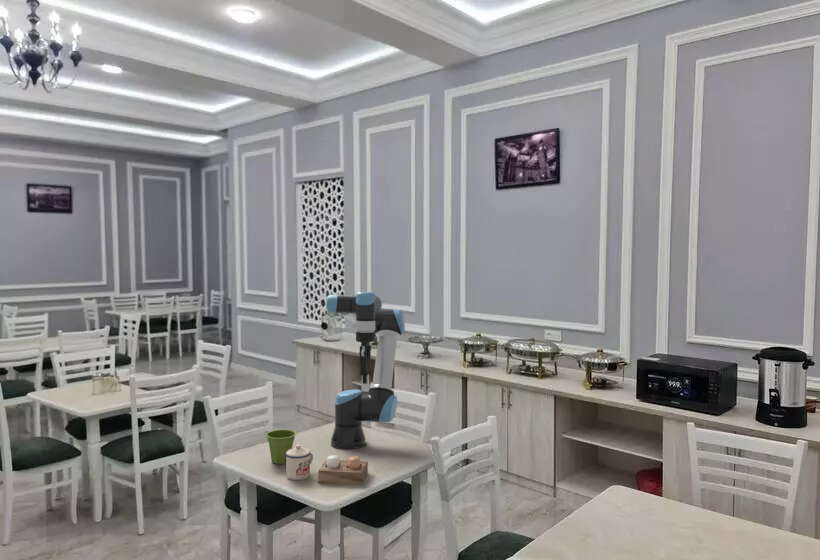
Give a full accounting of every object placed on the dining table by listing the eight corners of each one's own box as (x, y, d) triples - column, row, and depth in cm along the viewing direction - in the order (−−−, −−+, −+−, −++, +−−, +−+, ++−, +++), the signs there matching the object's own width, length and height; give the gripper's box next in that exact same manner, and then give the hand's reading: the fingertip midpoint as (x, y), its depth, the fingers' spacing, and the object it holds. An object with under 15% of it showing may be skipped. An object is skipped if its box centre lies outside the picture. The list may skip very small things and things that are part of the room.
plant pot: (285, 468, 222) (285, 439, 222) (259, 464, 227) (259, 435, 226) (302, 458, 233) (302, 431, 233) (277, 454, 238) (277, 427, 237)
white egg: (328, 470, 216) (328, 455, 216) (340, 471, 215) (340, 455, 215) (325, 475, 211) (325, 459, 211) (337, 475, 211) (337, 459, 211)
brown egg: (349, 471, 215) (349, 455, 215) (361, 472, 215) (361, 456, 214) (347, 476, 211) (347, 460, 210) (358, 476, 210) (358, 460, 210)
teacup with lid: (297, 482, 208) (297, 450, 208) (280, 476, 213) (280, 445, 213) (320, 472, 218) (321, 442, 218) (303, 467, 223) (303, 437, 223)
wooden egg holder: (326, 470, 220) (326, 459, 220) (367, 472, 218) (367, 461, 218) (318, 482, 208) (318, 470, 208) (361, 484, 206) (361, 472, 206)
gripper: (359, 329, 232) (359, 387, 232) (352, 333, 219) (352, 394, 219) (377, 329, 231) (377, 387, 232) (372, 333, 218) (371, 395, 219)
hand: (365, 391), depth 225 cm, fingers closed
